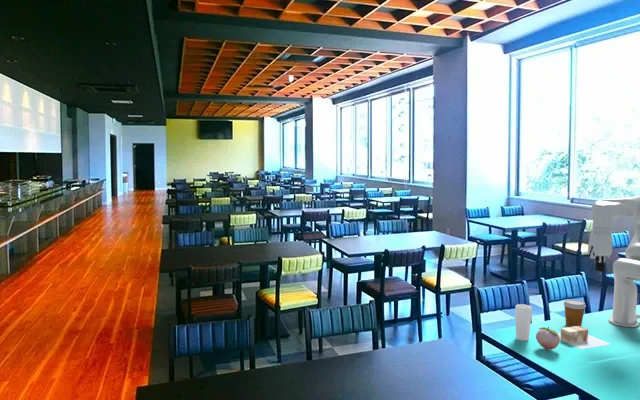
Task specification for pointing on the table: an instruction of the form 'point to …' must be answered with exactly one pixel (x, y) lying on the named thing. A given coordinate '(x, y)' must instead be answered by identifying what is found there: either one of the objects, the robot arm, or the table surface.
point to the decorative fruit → (548, 338)
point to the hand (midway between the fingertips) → (599, 270)
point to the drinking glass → (523, 321)
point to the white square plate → (588, 342)
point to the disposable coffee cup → (574, 312)
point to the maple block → (574, 334)
